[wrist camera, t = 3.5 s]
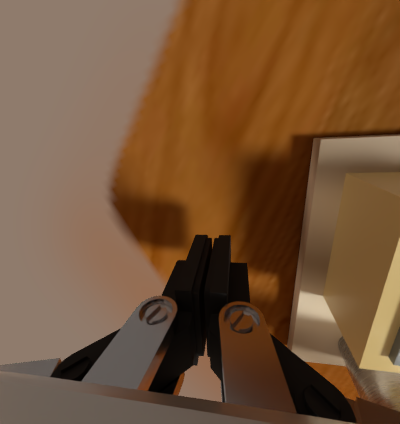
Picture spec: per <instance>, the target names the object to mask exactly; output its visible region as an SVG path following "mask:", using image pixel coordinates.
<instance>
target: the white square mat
mask: <svg viewBox="0 0 400 424" xmlns="http://www.w3.org/2000/svg"><path fill="white" fill-rule="evenodd" d="M373 172H400V134H391V135H370V136H349V137H328V138H314V139H313V147H312V155H311V163H310V171H309V179H308V187H307V195H306V202H305V210H304V218H303V226H302V234H301V242H300V250H299V258H298V265H297V273H296V281H295V289H294V297H293V305H292V313H291V321H290V329H289V336H288V344H287V347H288V349H290V350H291V351H292V352H293V353H294V354H296V355H297V356H298V357H299V358H301V359H302V360H303V361H306V362H315V363H324V364H332V365H341V366H346V365H345V362H344V360H343V358H342V356H341V353H340V351H339V349H338V342H339V339H340V338H341V337H342V336H343V335H342V333H341V331H340V329H339V327H338V325H337V323H336V321H335V319H334V317H333V315H332V313H331V311H330V309H329V307H328V305H327V303H326V301H325V299H324V297H323V293H324V288H325V282H326V277H327V272H328V266H329V261H330V256H331V250H332V245H333V240H334V235H335V229H336V224H337V219H338V213H339V208H340V203H341V197H342V192H343V187H344V182H345V176H346V173H373Z"/></svg>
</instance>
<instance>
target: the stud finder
mask: <svg viewBox="0 0 400 424" xmlns="http://www.w3.org/2000/svg"><path fill="white" fill-rule="evenodd" d="M323 297H324V299H325V301H326V303H327V305H328V307H329V309H330V311H331V313H332V315H333V317H334V319H335V321H336V323H337V325H338V327H339V329H340V331H341V333H342V335H343V337H344V339H345V341H346V343H347V345H348V347H349V349H350V351H351V353H352V355H353V357H354V359H355V361H356V363H357V366H358V368H361V369H369V370H378V371H387V372H395V373H400V172H373V173H346V176H345V182H344V187H343V192H342V197H341V203H340V208H339V213H338V219H337V224H336V229H335V235H334V240H333V245H332V250H331V256H330V261H329V266H328V272H327V277H326V282H325V288H324V293H323Z"/></svg>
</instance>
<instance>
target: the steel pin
mask: <svg viewBox="0 0 400 424" xmlns="http://www.w3.org/2000/svg"><path fill="white" fill-rule="evenodd" d="M338 349H339V351H340V353H341V356H342V358H343V360H344V362H345V365H346V367H347V369H348V371H349V374H350V376H351V378H352V380H353V383H354V385H355V387H356V390H357V392H358V394H359V396H360V398H361V399H364V400H367V401H370V402H373V403H376V404H379V405H381V406H384V407H387V408H390V409H393V410H396V411H399V412H400V373H395V372H387V371H378V370H369V369H361V368H358V366H357V363H356V361H355V359H354V357H353V355H352V353H351V351H350V349H349V347H348V345H347V343H346V341H345V339H344V337H343V336H342V337H341V338H340V339H339V342H338Z"/></svg>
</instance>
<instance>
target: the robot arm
mask: <svg viewBox="0 0 400 424" xmlns="http://www.w3.org/2000/svg"><path fill="white" fill-rule="evenodd" d="M206 338H207V355H208V357H210V362H211V369H212V370H213V371H214V373H215V374H216V375H217V376H218V378H219V379H220V380H221V393H222V394H221V396H222V402H217V401H210V400H203V399H196V398H189V397H184V396H178V395H179V392H180V389H181V386H182V383H183V380H184V375H185V373H184V372H185V371H186V370H187V369H189V368H190V367H191V366H193V365H197V363H198V357H199V356H204V351H205V344H206ZM0 424H400V412H399V411H396V410H393V409H390V408H387V407H384V406H381V405H379V404H376V403H373V402H370V401H367V400H364V399H361V398H358V397H356V400H355V401H354V400H351V399H348V398H345V397H344V395H343V394H342V393H341V392H340V391H339V390H338V389H337V388H336V387H335V386H334V385H332V384H331V383H330V382H329V381H328V380H326V379H325V378H324V377H323V376H321V375H320V374H319V373H318V372H317V371H315V370H314V369H313V368H312V367H310V366H309V365H308V364H307V363H306V362H304V361H303V360H302V359H301V358H299V357H298V356H297V355H296V354H294V353H293V352H292V351H291V350H290V349H288V348H287V347H286V346H285V345H283V344H282V343H281V342H280V341H279V340H277V339H276V338H275V337H274V336H272V335H271V334H270V332H269V329H268V326H267V323H266V320H265V317H264V315H263V314H262V312H261V311H260V310H259V309H258V308H257V307H256V306H254V305H252V304H250V295H249V282H248V269H247V263H232V262H231V236H230V235H219V238H215V239H214V244H213V249H212V238H208V236H207V235H195V238H194V241H193V243H192V246H191V248H190V251H189V254H188V256H187V259H186V261H185V260H178V261H177V262H176V265H175V267H174V269H173V271H172V274H171V276H170V278H169V280H168V282H167V285H166V287H165V289H164V291H163V294H162V296H154V297H151V298H148V299H146V300H145V301H143V302H142V303H141V304H140V305H139V306H138V307H137V308H136V309H135V311H134V312H133V313H132V315H131V316H130V317H129V319H128V320H127V321H126V323H125V324H124V325H123V327H122V328H121V329H119V330H117V331H115V332H113V333H111V334H109V335H107V336H106V337H104V338H102V339H100V340H98V341H96V342H94V343H92V344H91V345H89V346H87V347H85V348H83V349H81V350H79V351H77V352H76V353H74V354H72V355H71V356H69V357H68V358H66V359H65V360H64V361H63V362H61V360H60V358H56V359H48V360H40V361H31V362H23V363H15V364H6V365H0Z"/></svg>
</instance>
